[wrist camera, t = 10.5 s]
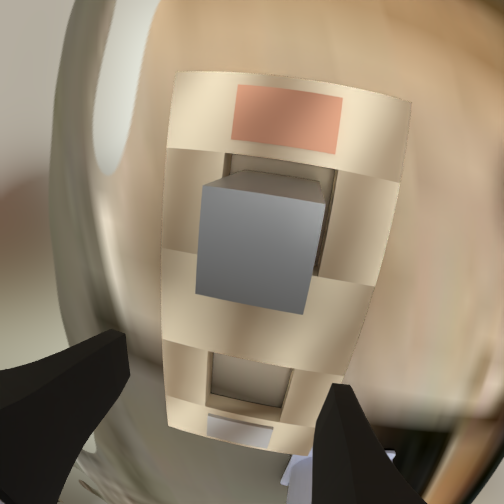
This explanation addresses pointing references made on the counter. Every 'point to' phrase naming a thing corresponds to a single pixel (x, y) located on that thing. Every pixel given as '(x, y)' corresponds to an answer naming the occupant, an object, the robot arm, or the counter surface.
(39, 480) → the robot arm
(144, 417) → the counter surface
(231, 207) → the plug
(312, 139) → the socket board
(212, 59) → the counter surface
